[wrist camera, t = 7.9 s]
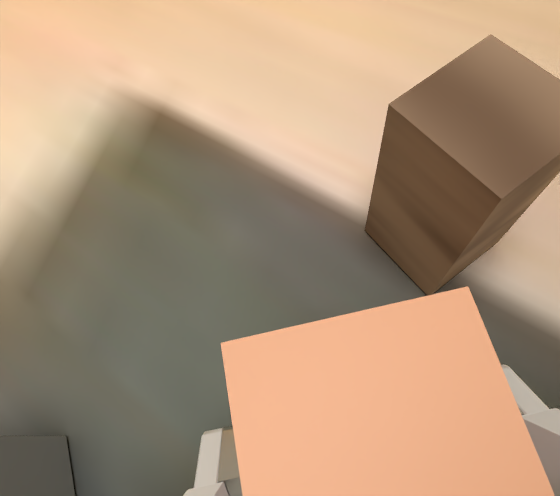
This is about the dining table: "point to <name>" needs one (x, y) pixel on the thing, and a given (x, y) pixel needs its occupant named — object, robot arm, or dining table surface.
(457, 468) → the terracotta bar
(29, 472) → the charcoal bar
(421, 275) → the walnut bar
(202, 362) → the dining table surface
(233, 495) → the robot arm
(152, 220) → the dining table surface
